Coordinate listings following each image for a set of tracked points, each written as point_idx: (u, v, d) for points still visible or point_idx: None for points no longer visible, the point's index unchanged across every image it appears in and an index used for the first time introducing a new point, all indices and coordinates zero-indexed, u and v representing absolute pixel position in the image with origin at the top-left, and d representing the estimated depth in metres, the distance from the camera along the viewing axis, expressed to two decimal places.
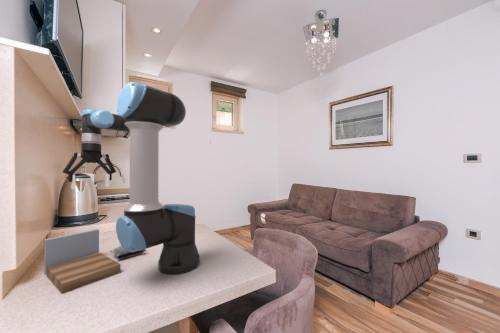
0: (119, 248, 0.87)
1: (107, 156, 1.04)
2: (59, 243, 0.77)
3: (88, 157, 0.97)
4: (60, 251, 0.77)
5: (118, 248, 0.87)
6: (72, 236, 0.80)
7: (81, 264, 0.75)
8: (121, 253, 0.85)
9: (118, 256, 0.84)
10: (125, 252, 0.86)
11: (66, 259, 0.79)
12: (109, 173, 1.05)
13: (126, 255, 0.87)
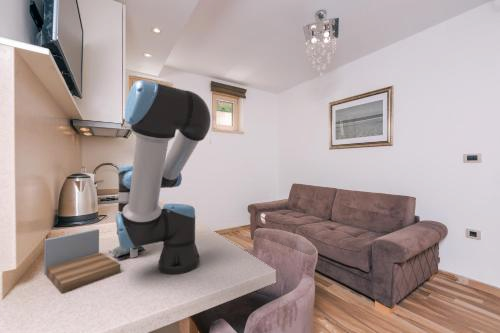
0: (119, 248, 0.87)
1: None
2: (59, 243, 0.77)
3: None
4: (60, 251, 0.77)
5: (118, 248, 0.87)
6: (72, 236, 0.80)
7: (81, 264, 0.75)
8: (121, 253, 0.85)
9: (118, 256, 0.84)
10: (125, 252, 0.86)
11: (66, 259, 0.79)
12: None
13: (126, 255, 0.87)
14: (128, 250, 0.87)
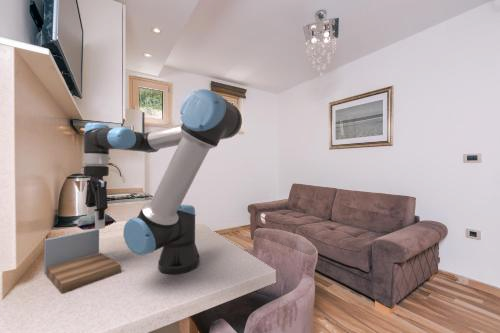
0: (83, 217, 0.75)
1: (97, 184, 0.74)
2: (59, 243, 0.77)
3: (88, 184, 0.78)
4: (60, 251, 0.77)
5: (81, 217, 0.75)
6: (72, 236, 0.80)
7: (81, 264, 0.75)
8: (84, 222, 0.73)
9: (80, 226, 0.72)
10: (89, 222, 0.74)
11: (66, 259, 0.79)
12: None
13: (91, 225, 0.74)
14: (93, 220, 0.75)
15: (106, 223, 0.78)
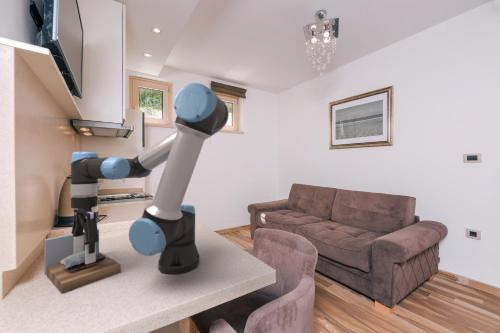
0: (70, 257, 0.70)
1: (86, 216, 0.70)
2: (59, 243, 0.77)
3: (76, 215, 0.74)
4: (60, 251, 0.77)
5: (69, 257, 0.71)
6: (72, 236, 0.80)
7: None
8: (72, 264, 0.69)
9: (68, 267, 0.68)
10: (78, 262, 0.70)
11: None
12: None
13: (79, 266, 0.70)
14: (82, 259, 0.71)
15: (96, 261, 0.74)
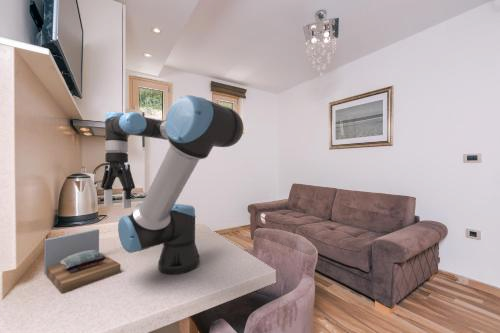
0: (70, 257, 0.70)
1: (122, 167, 0.79)
2: (59, 243, 0.77)
3: (109, 170, 0.82)
4: (60, 251, 0.77)
5: (69, 258, 0.70)
6: (72, 236, 0.80)
7: None
8: (73, 264, 0.68)
9: (68, 268, 0.68)
10: (78, 262, 0.70)
11: None
12: None
13: (80, 266, 0.70)
14: (83, 260, 0.71)
15: (96, 261, 0.74)
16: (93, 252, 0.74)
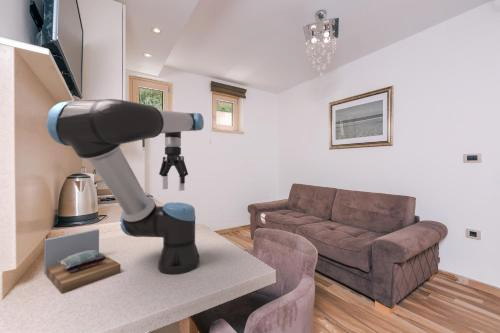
0: (70, 258, 0.70)
1: (178, 158, 1.00)
2: (59, 243, 0.77)
3: (167, 160, 1.04)
4: (60, 251, 0.77)
5: (69, 258, 0.70)
6: (72, 236, 0.80)
7: None
8: (73, 264, 0.68)
9: (69, 268, 0.67)
10: (78, 262, 0.69)
11: None
12: None
13: (80, 266, 0.70)
14: (83, 260, 0.71)
15: (96, 261, 0.74)
16: (93, 252, 0.74)
